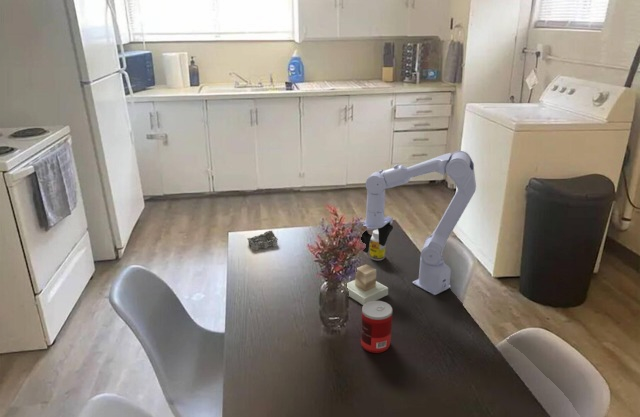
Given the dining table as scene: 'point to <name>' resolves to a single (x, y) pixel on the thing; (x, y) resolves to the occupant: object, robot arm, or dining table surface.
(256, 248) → the egg carton
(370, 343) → the canned food
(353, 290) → the plinth
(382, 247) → the supplement bottle
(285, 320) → the dining table surface
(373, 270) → the beech block
